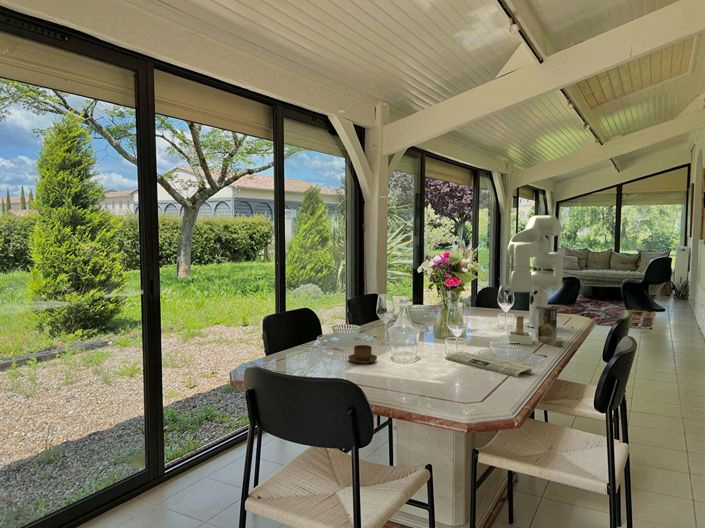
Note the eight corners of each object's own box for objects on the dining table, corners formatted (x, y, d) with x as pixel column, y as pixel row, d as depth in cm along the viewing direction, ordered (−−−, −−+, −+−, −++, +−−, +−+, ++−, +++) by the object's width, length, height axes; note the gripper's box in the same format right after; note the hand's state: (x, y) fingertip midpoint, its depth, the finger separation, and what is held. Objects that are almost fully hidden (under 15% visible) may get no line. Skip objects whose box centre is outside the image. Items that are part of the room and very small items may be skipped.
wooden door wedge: (538, 342, 246) (538, 336, 246) (543, 342, 247) (543, 336, 247) (557, 348, 235) (558, 341, 235) (562, 347, 236) (562, 341, 236)
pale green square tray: (507, 338, 253) (507, 330, 252) (529, 339, 250) (530, 332, 250) (508, 343, 242) (509, 335, 242) (531, 344, 240) (532, 336, 240)
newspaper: (445, 360, 213) (445, 352, 213) (462, 355, 222) (463, 347, 221) (521, 379, 187) (521, 370, 187) (537, 373, 195) (538, 364, 195)
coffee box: (552, 338, 255) (553, 306, 253) (556, 340, 248) (557, 308, 247) (534, 337, 256) (535, 306, 254) (537, 340, 249) (538, 308, 248)
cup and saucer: (344, 359, 213) (344, 345, 213) (369, 356, 218) (369, 342, 218) (355, 366, 202) (355, 351, 202) (381, 363, 207) (382, 349, 207)
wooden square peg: (515, 339, 248) (516, 315, 247) (522, 339, 248) (522, 315, 247) (516, 340, 245) (517, 316, 244) (522, 340, 245) (523, 316, 244)
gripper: (539, 268, 245) (538, 302, 247) (502, 267, 249) (501, 301, 251) (541, 269, 238) (540, 305, 239) (503, 269, 242) (502, 304, 244)
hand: (520, 303), depth 245 cm, fingers open, 9 cm apart
